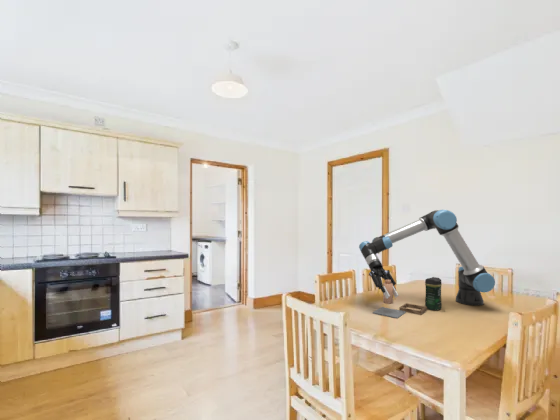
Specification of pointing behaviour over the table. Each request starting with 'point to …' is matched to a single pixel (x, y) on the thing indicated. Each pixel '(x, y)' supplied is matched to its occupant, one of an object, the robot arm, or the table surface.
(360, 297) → the table surface
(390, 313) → the plate
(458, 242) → the robot arm
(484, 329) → the table surface
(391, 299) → the terracotta spice bottle
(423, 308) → the walnut frame
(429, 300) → the coffee jar
